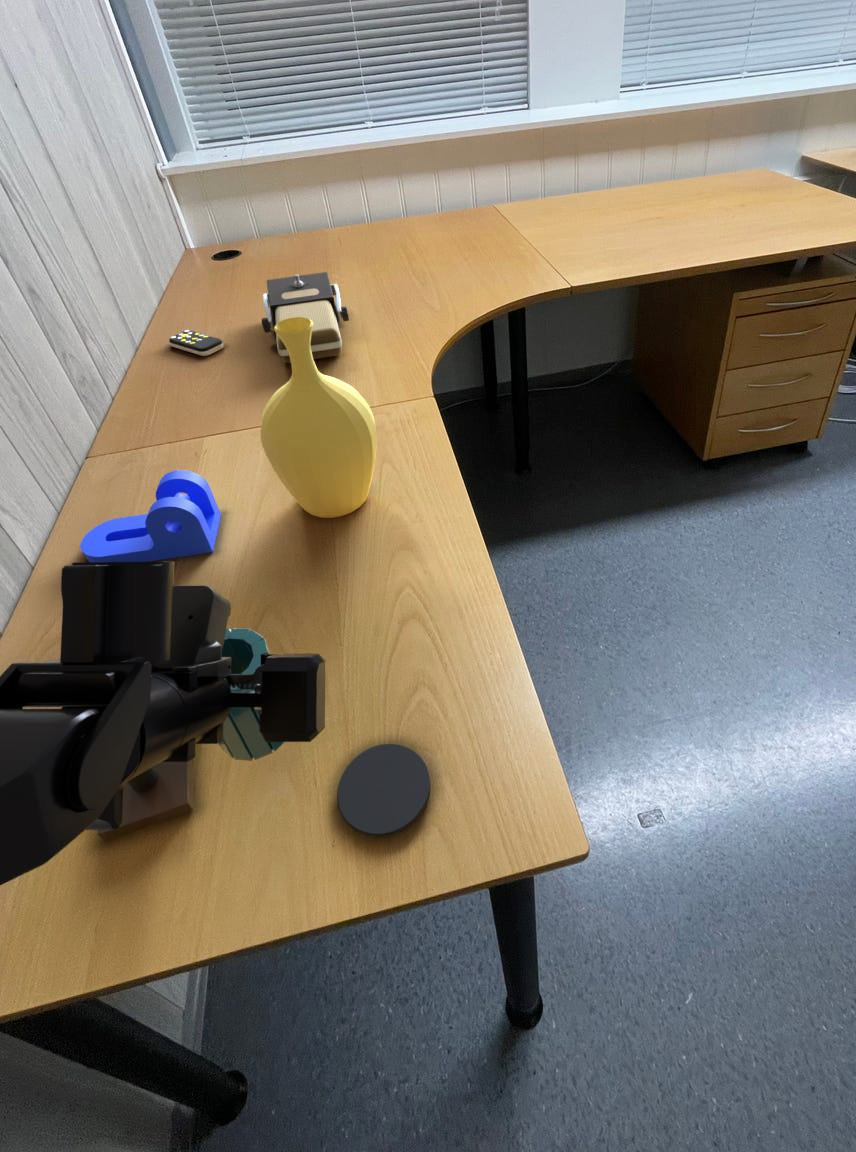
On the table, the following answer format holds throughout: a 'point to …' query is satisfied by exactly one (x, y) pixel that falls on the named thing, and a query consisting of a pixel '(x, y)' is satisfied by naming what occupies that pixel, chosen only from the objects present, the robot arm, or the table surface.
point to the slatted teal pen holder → (245, 658)
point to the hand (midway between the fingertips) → (246, 677)
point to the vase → (318, 432)
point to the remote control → (196, 343)
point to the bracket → (160, 525)
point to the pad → (384, 790)
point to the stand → (155, 797)
